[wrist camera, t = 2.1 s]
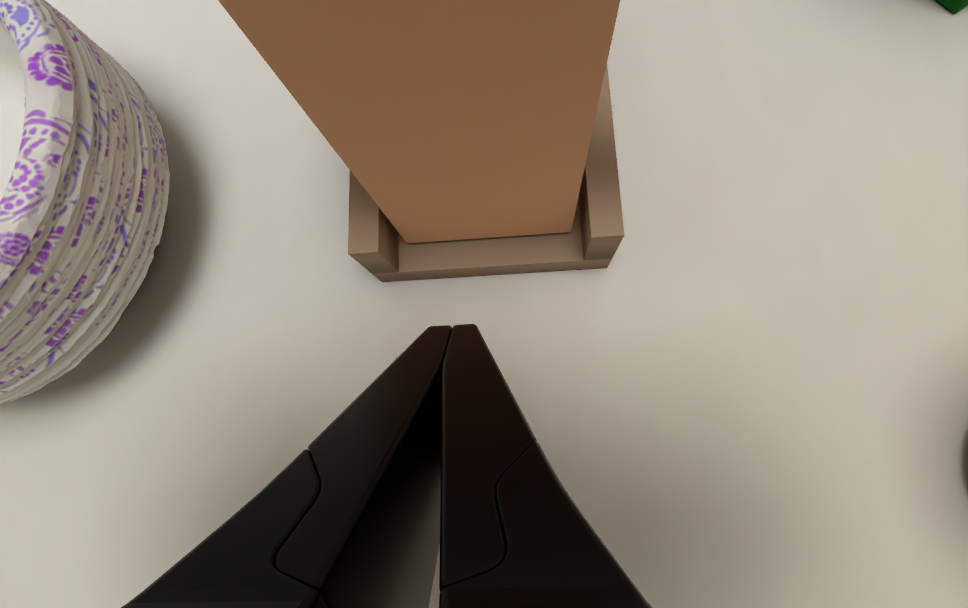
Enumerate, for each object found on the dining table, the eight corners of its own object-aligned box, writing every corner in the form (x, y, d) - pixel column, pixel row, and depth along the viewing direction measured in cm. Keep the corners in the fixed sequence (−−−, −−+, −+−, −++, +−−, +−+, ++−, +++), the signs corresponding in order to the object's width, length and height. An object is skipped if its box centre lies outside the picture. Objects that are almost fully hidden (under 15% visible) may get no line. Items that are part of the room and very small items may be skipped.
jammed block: (571, 231, 18) (641, -99, 6) (406, 243, 18) (186, -42, 7) (559, 83, 19) (599, -425, 7) (406, 98, 20) (218, -355, 8)
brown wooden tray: (607, 267, 19) (624, 235, 15) (382, 281, 20) (348, 253, 16) (572, -104, 23) (580, -200, 19) (383, -80, 23) (356, -168, 20)
